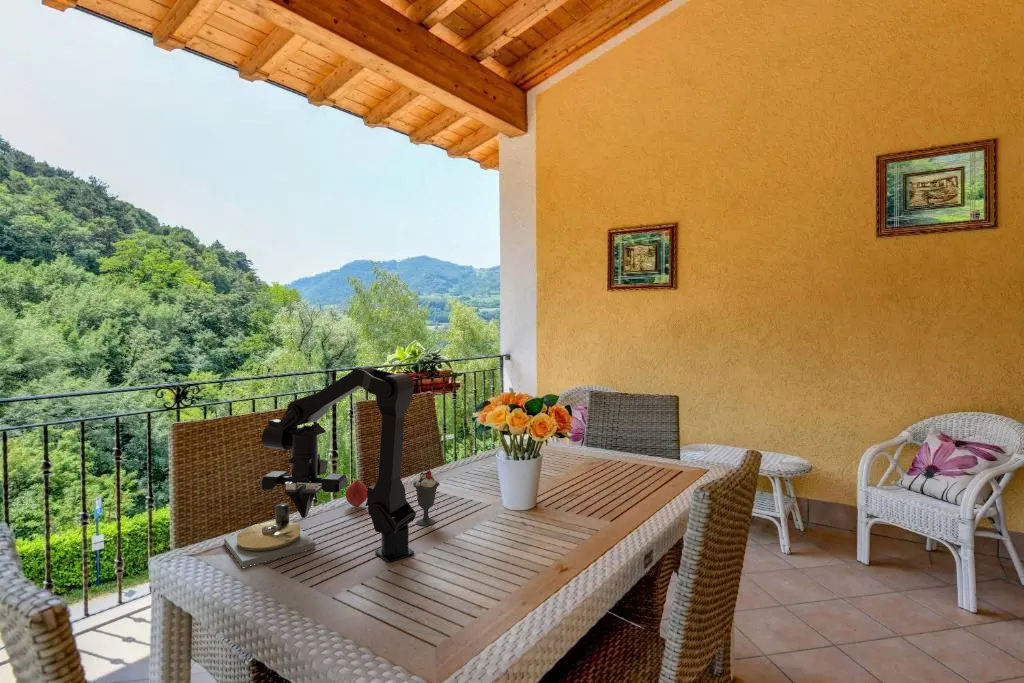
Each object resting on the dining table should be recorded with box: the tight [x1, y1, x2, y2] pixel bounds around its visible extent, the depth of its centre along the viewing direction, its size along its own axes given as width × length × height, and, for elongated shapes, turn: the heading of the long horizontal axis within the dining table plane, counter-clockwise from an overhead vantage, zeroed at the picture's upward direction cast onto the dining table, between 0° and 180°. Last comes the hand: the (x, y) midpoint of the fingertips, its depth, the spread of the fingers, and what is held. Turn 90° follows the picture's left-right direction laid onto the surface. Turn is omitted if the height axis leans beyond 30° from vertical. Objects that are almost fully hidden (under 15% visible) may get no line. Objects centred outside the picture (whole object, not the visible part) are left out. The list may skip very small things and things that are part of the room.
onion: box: [345, 478, 368, 508], centre depth 145 cm, size 6×6×8 cm
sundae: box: [412, 465, 440, 527], centre depth 135 cm, size 7×7×15 cm
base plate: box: [223, 528, 316, 568], centre depth 120 cm, size 15×15×2 cm
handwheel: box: [236, 502, 301, 551], centre depth 120 cm, size 13×13×6 cm
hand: (304, 517), depth 126 cm, fingers closed
